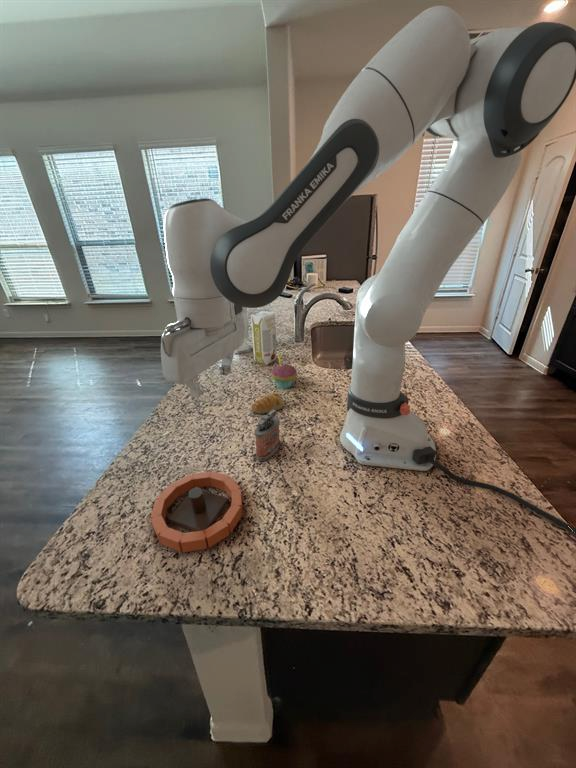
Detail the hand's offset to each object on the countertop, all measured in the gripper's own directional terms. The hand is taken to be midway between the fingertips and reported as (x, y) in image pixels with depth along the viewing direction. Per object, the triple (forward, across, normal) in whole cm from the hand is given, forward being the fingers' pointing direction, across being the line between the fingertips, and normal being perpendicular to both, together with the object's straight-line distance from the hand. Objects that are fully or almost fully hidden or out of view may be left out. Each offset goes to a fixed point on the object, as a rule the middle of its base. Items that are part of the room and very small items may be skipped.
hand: (212, 384), depth 59 cm
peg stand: (+22, -11, -1) cm, 25 cm away
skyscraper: (+23, +68, +33) cm, 79 cm away
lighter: (+22, +10, -6) cm, 25 cm away
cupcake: (+22, +43, +3) cm, 49 cm away
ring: (+22, -11, -1) cm, 25 cm away
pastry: (+22, +28, +2) cm, 36 cm away
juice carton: (+22, +60, +18) cm, 67 cm away
